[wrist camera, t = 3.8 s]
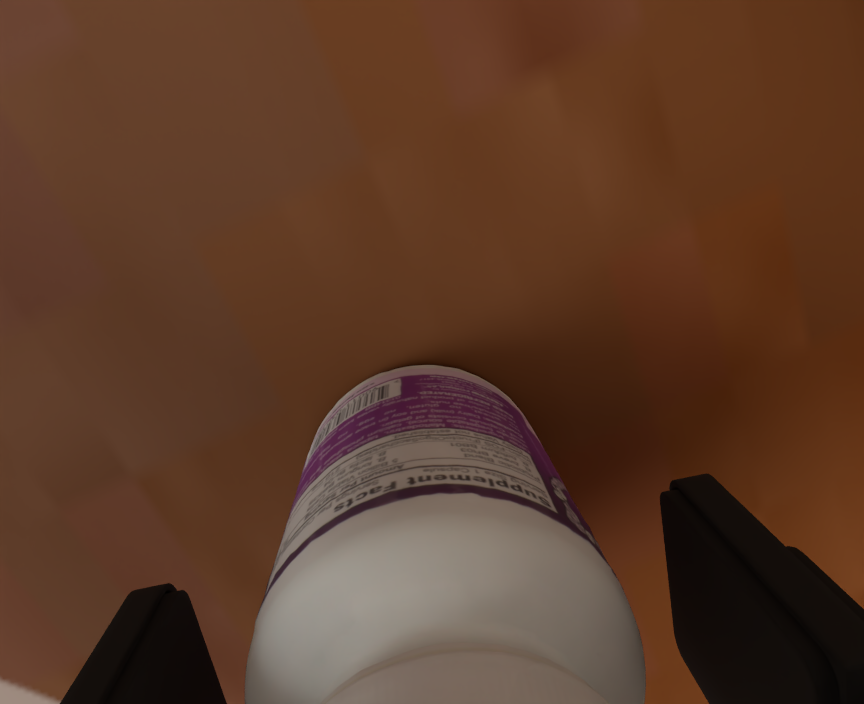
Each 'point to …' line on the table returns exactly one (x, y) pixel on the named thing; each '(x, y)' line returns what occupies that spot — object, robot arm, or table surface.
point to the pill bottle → (439, 563)
